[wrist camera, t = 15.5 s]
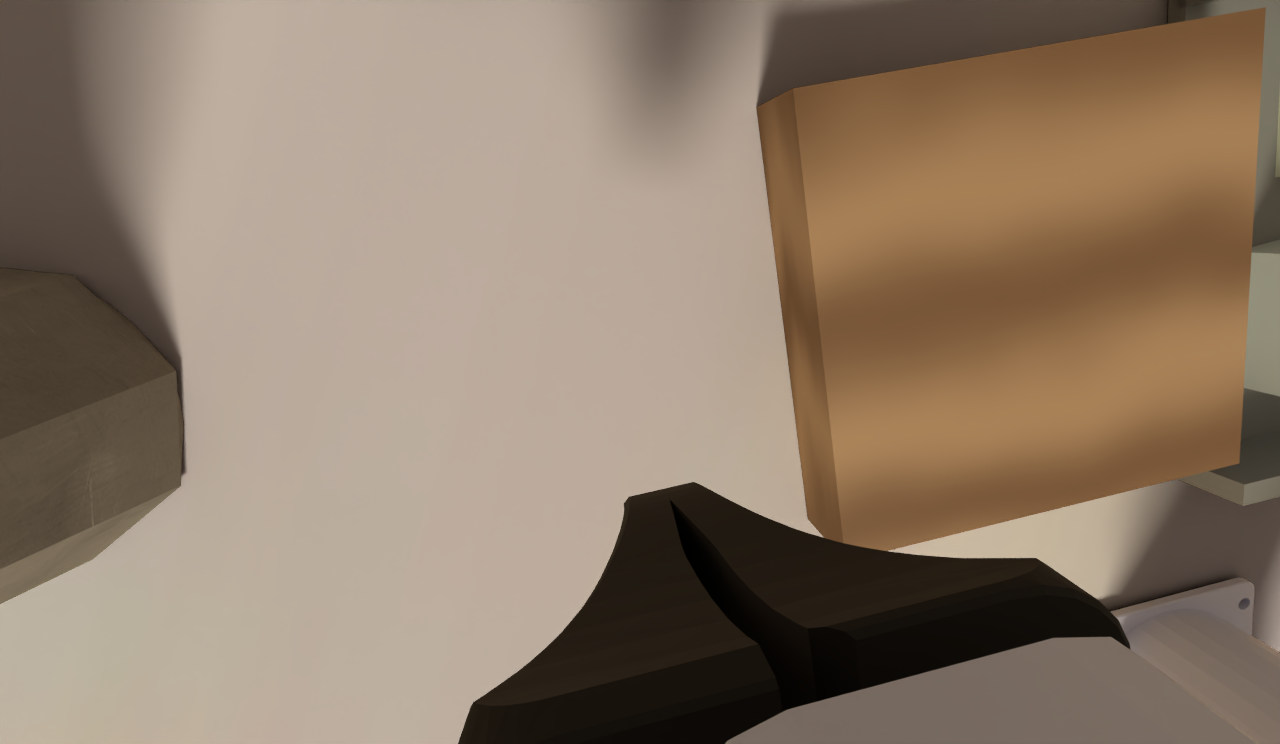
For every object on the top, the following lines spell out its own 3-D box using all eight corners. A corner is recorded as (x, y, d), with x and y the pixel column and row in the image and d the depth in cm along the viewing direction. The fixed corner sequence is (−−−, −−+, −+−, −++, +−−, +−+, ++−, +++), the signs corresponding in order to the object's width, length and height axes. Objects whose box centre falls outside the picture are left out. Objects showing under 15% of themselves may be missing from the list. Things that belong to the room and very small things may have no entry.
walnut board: (1158, 435, 25) (1239, 463, 22) (807, 519, 23) (845, 561, 21) (1167, 35, 21) (1265, 7, 18) (756, 107, 20) (793, 88, 17)
